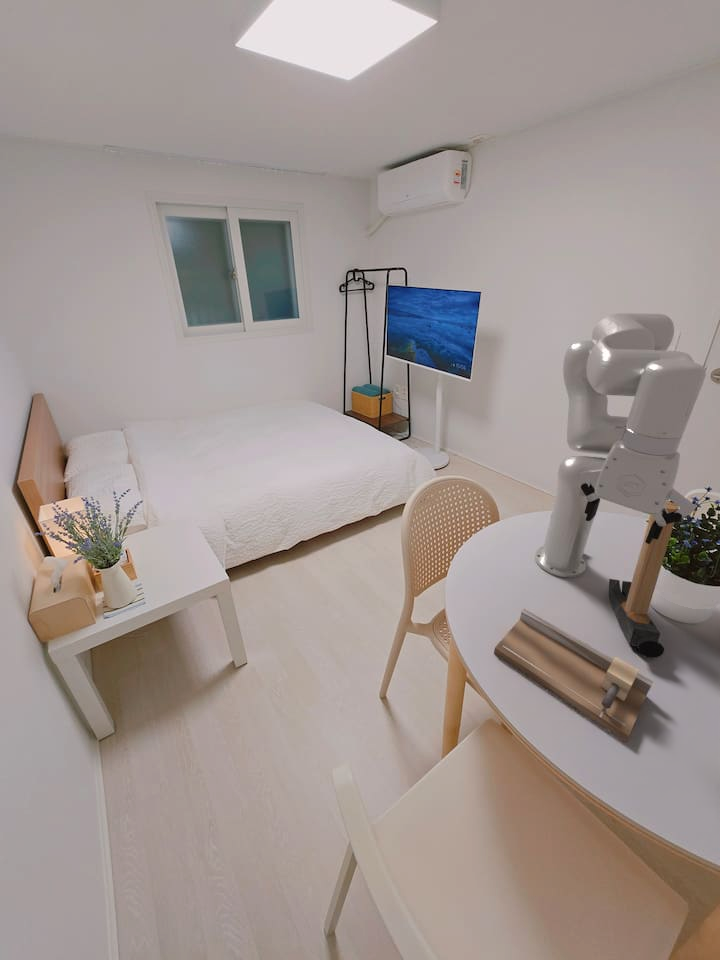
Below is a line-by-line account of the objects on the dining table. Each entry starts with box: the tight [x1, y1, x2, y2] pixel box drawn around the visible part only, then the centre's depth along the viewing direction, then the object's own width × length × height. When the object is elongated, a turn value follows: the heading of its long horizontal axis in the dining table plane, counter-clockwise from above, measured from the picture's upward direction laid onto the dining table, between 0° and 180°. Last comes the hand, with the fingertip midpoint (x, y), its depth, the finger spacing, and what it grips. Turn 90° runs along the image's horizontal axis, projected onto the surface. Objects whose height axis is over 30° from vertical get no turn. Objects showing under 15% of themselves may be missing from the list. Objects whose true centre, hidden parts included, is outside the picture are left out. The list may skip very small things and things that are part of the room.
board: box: [493, 608, 654, 743], centre depth 79 cm, size 12×25×4 cm, turn 44°
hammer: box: [608, 501, 680, 659], centre depth 86 cm, size 20×5×30 cm, turn 165°
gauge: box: [601, 656, 640, 712], centre depth 73 cm, size 9×4×4 cm, turn 134°
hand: (618, 528), depth 72 cm, fingers open, 9 cm apart
